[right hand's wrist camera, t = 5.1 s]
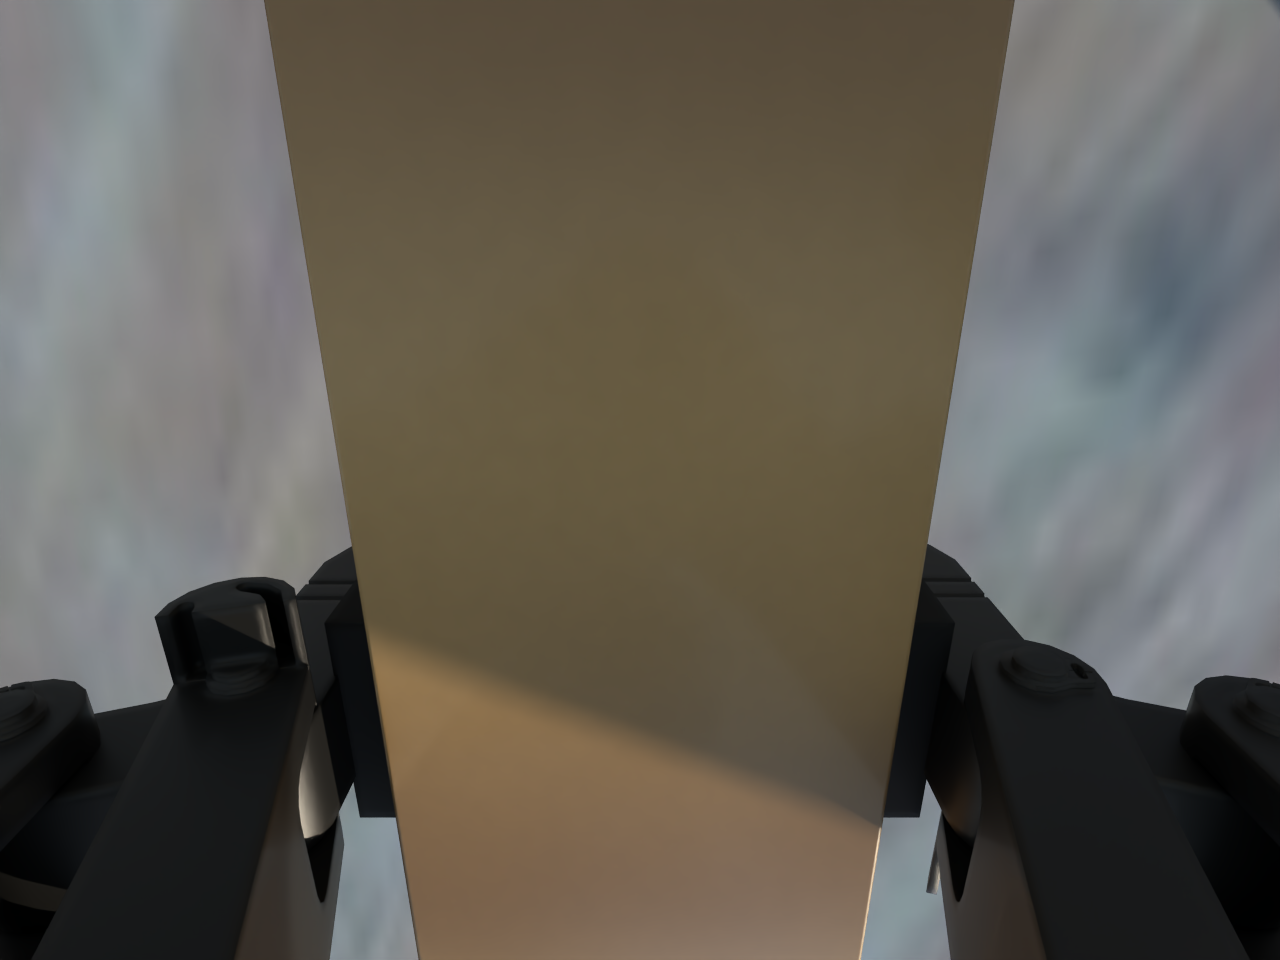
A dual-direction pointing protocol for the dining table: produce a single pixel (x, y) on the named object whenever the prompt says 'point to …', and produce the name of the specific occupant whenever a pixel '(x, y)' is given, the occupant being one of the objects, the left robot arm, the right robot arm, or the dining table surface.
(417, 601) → the bar
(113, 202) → the dining table surface
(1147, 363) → the dining table surface
